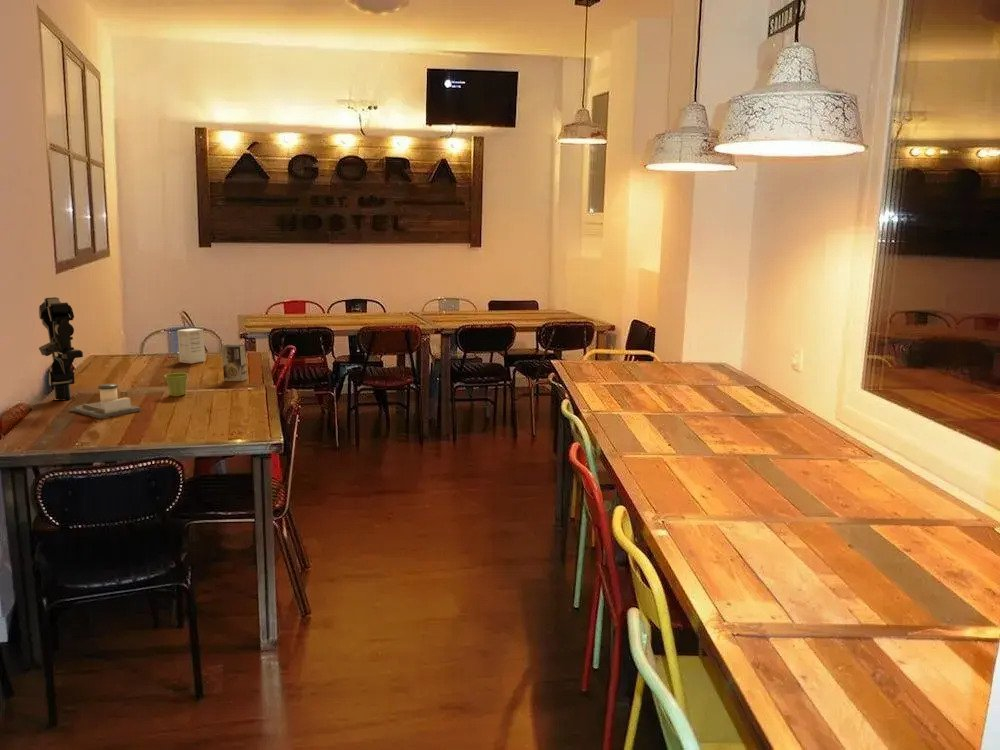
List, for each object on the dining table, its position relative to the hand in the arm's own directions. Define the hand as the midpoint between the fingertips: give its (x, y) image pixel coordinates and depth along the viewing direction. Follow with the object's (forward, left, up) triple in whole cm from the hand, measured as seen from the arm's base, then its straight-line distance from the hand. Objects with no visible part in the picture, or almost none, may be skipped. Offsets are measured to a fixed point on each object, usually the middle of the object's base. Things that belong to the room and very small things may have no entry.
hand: (66, 373), depth 324 cm
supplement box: (-96, +34, -13) cm, 103 cm away
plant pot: (-12, +39, -13) cm, 43 cm away
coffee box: (-41, +60, -13) cm, 74 cm away
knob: (+15, +18, -11) cm, 26 cm away
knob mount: (+12, +16, -13) cm, 24 cm away
